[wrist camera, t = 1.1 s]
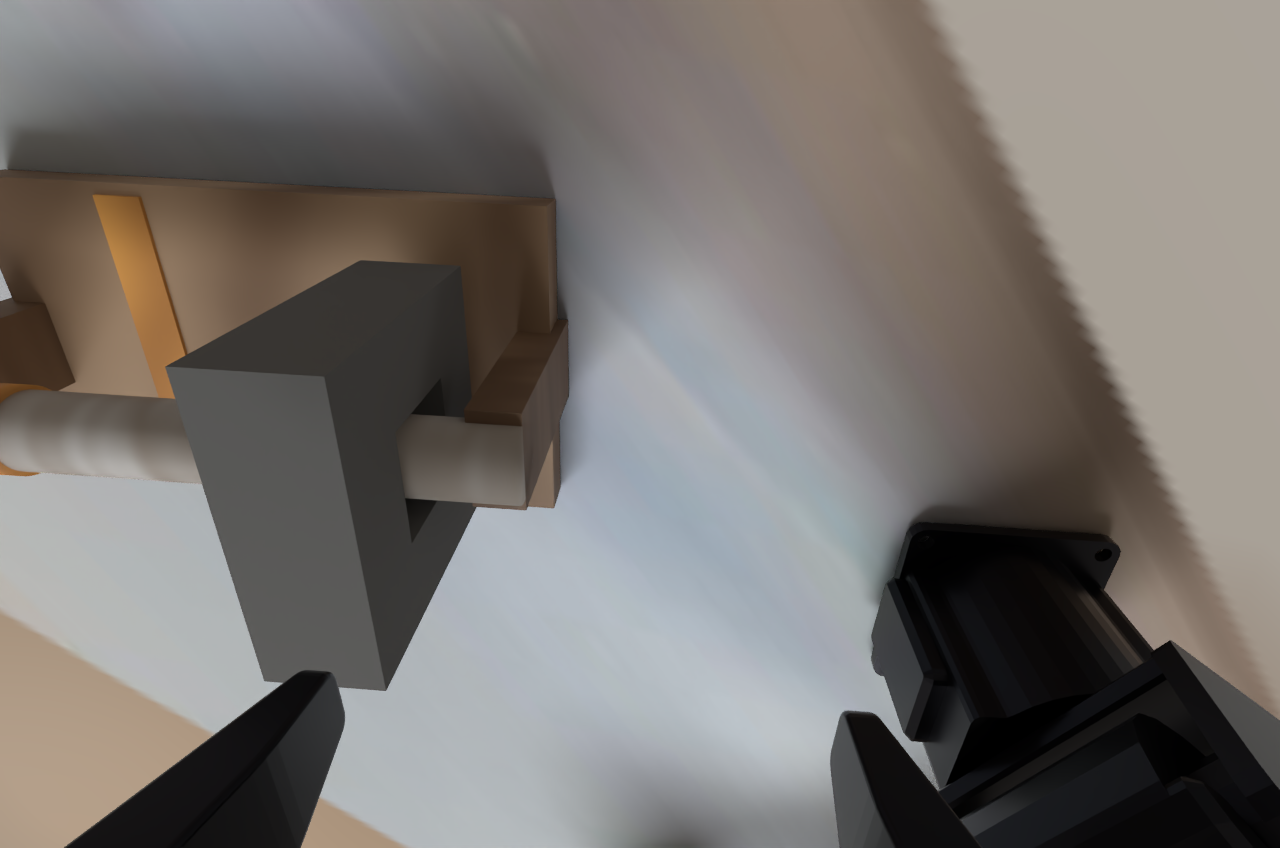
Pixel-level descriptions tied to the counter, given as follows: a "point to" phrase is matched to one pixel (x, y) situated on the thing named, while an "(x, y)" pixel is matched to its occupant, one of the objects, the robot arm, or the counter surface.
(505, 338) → the pipe stand
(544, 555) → the counter surface
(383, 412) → the grey square collar
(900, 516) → the counter surface
